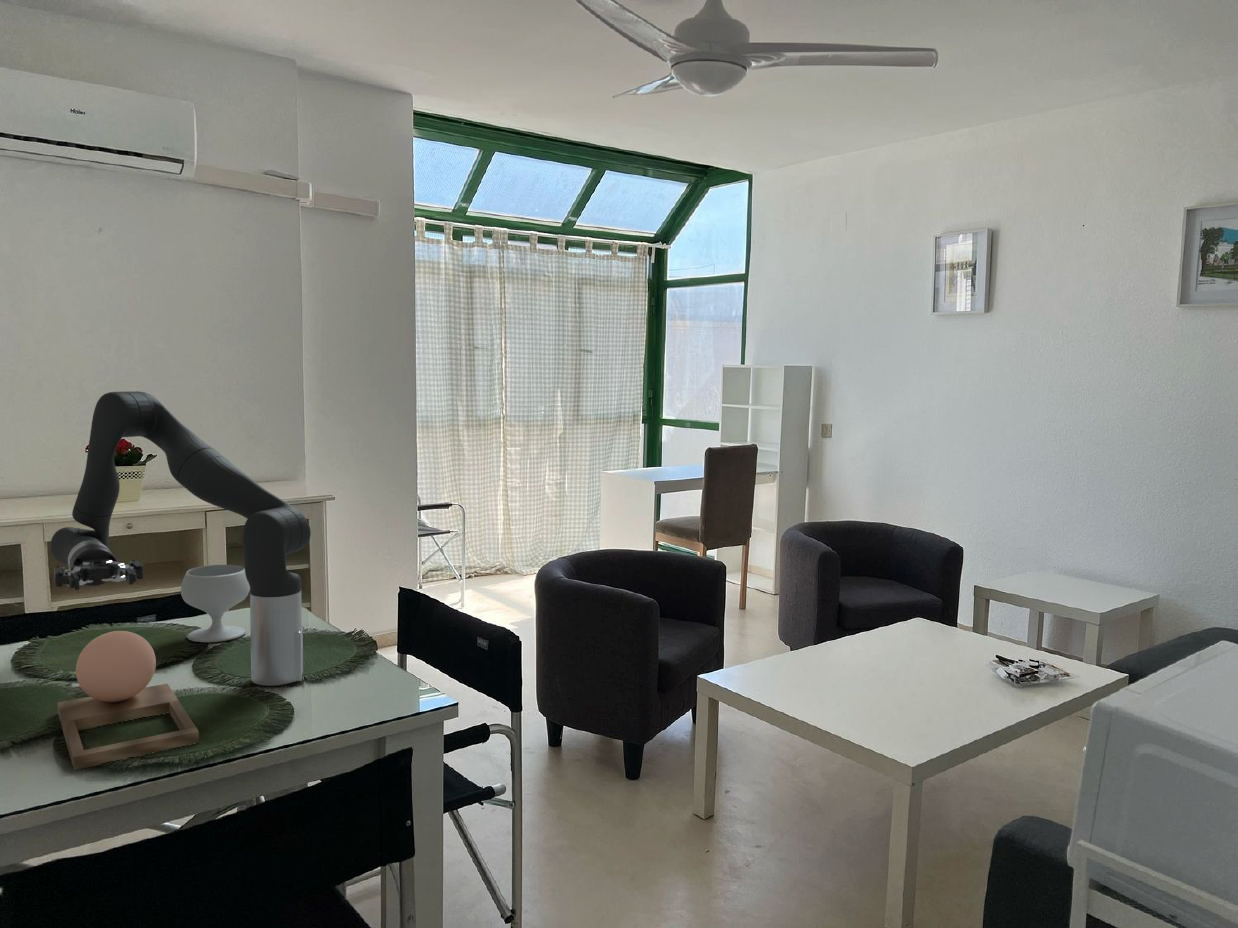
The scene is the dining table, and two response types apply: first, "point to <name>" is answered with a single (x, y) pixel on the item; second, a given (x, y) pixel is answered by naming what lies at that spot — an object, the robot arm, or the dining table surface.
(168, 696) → the wooden rectangular frame
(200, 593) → the chalice
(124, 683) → the ball
